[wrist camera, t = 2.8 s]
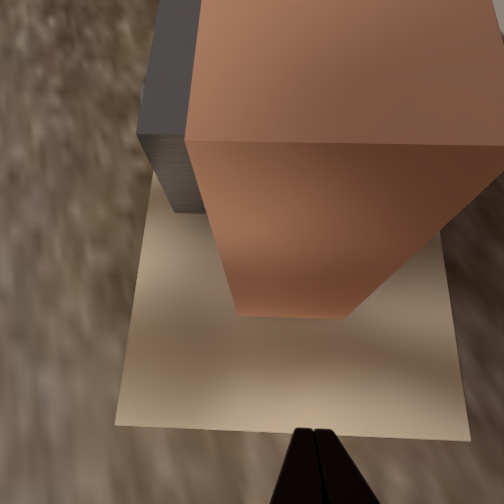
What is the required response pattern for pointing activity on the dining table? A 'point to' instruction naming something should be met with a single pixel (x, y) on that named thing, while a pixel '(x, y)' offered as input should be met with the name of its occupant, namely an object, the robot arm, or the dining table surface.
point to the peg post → (339, 139)
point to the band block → (171, 103)
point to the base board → (285, 349)
